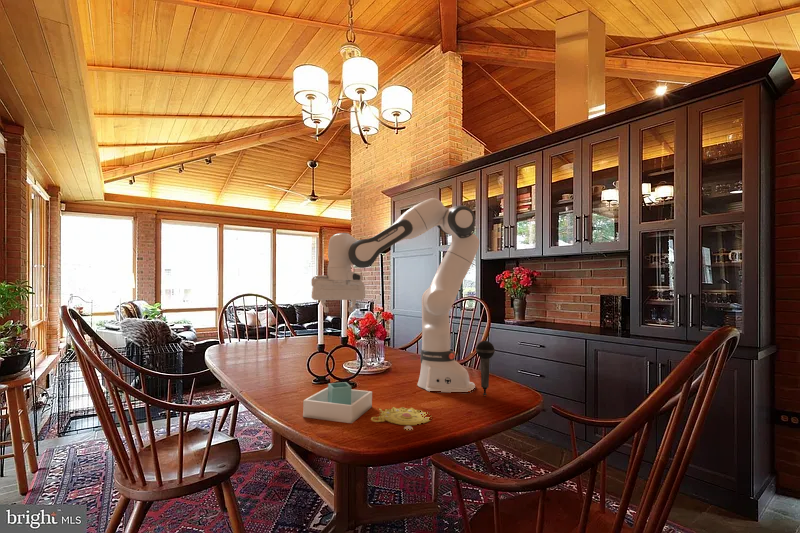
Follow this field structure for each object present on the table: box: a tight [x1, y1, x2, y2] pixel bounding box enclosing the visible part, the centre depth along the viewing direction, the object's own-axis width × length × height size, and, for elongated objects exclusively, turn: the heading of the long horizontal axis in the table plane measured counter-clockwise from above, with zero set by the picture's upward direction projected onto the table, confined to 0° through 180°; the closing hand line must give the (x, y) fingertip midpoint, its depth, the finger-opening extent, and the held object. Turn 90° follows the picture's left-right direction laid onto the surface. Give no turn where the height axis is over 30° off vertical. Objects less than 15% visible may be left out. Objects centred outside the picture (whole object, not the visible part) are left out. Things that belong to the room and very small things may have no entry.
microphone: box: [475, 340, 496, 395], centre depth 146 cm, size 7×7×20 cm
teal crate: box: [327, 381, 352, 405], centre depth 127 cm, size 6×6×8 cm
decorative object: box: [370, 406, 431, 431], centre depth 123 cm, size 21×2×20 cm
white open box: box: [302, 386, 373, 424], centre depth 127 cm, size 16×16×5 cm
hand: (338, 312), depth 154 cm, fingers open, 8 cm apart
